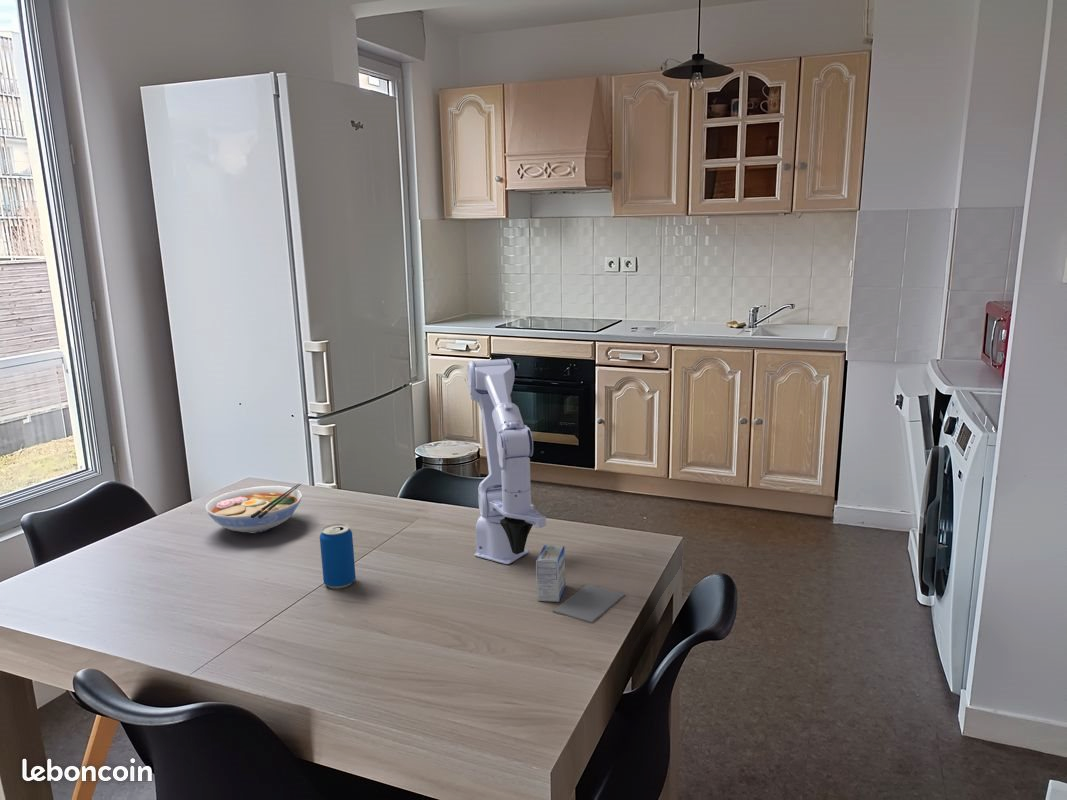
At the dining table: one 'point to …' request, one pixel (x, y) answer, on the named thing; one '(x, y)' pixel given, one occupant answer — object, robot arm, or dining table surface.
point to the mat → (589, 603)
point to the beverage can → (337, 556)
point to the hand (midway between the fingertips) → (518, 552)
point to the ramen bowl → (254, 507)
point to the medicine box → (550, 573)
